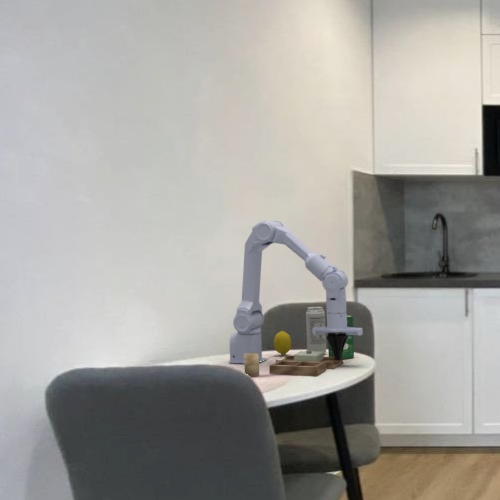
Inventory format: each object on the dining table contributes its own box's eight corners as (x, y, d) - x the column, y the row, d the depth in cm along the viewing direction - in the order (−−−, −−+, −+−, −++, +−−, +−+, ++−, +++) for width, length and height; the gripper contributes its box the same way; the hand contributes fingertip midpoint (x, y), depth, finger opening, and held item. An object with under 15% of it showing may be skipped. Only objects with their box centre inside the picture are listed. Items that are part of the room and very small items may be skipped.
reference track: (273, 366, 213) (273, 360, 213) (285, 360, 221) (284, 355, 221) (334, 369, 205) (333, 362, 205) (343, 363, 213) (343, 357, 213)
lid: (293, 362, 212) (293, 352, 211) (301, 358, 218) (300, 348, 217) (317, 362, 208) (317, 353, 208) (324, 358, 214) (324, 349, 214)
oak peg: (242, 376, 200) (241, 355, 200) (248, 373, 204) (247, 352, 203) (255, 377, 198) (254, 355, 198) (261, 374, 202) (260, 353, 202)
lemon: (290, 357, 227) (289, 331, 227) (273, 357, 228) (272, 332, 228) (292, 354, 233) (291, 329, 232) (275, 354, 234) (274, 329, 233)
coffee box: (349, 356, 224) (348, 314, 223) (355, 358, 221) (353, 315, 221) (328, 359, 220) (326, 317, 219) (333, 361, 217) (331, 317, 217)
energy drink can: (324, 352, 233) (323, 306, 233) (327, 355, 227) (325, 308, 227) (306, 353, 233) (304, 306, 232) (308, 356, 227) (306, 308, 226)
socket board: (269, 374, 202) (269, 365, 202) (280, 368, 209) (279, 360, 209) (317, 376, 196) (316, 367, 196) (326, 370, 204) (325, 362, 204)
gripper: (308, 314, 208) (310, 361, 209) (357, 314, 202) (358, 363, 203) (316, 311, 215) (317, 356, 215) (363, 311, 209) (365, 358, 209)
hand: (338, 359), depth 209 cm, fingers closed
